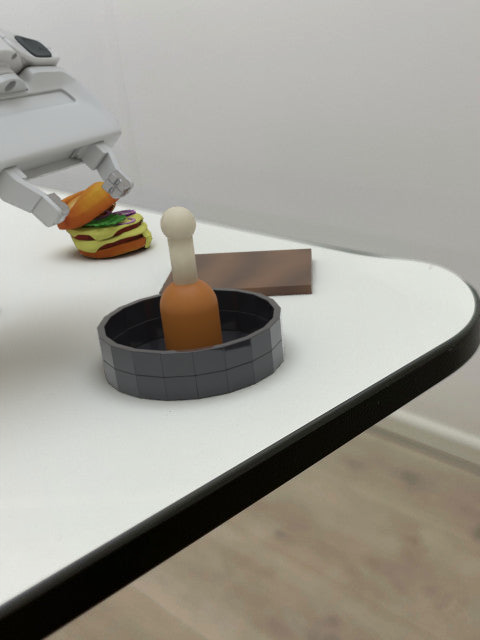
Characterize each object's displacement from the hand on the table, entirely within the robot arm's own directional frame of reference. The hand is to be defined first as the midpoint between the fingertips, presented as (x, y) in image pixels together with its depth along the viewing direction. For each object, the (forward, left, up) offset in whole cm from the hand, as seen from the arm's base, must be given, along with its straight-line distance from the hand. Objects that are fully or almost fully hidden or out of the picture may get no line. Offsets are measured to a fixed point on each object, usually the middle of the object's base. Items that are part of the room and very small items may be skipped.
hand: (95, 205), depth 62 cm
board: (+9, +22, -14) cm, 27 cm away
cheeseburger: (-10, +38, -14) cm, 42 cm away
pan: (+7, -1, -14) cm, 16 cm away
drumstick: (+7, -1, -14) cm, 15 cm away
